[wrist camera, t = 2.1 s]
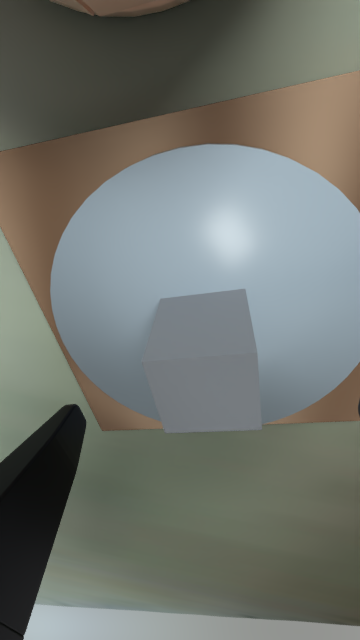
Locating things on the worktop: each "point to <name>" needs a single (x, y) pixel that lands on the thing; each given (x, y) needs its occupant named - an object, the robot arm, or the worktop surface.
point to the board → (162, 135)
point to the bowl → (119, 6)
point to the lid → (212, 287)
